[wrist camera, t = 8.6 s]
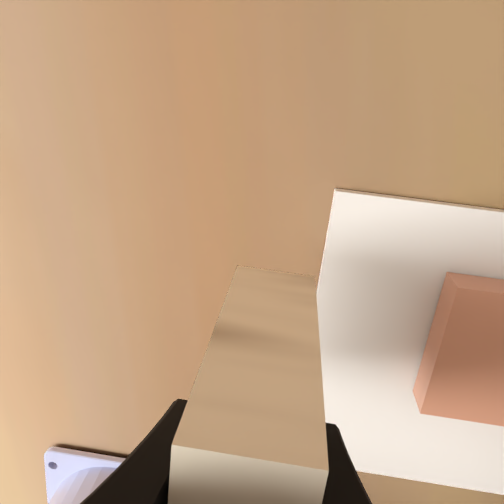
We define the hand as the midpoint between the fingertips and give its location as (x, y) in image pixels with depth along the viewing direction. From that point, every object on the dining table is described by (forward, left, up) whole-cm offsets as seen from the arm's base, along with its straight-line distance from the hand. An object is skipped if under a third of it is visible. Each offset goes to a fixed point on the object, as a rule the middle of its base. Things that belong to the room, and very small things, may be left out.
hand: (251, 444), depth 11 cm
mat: (-3, -10, -10) cm, 15 cm away
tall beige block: (-1, 0, -5) cm, 5 cm away
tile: (-5, -11, -8) cm, 14 cm away
